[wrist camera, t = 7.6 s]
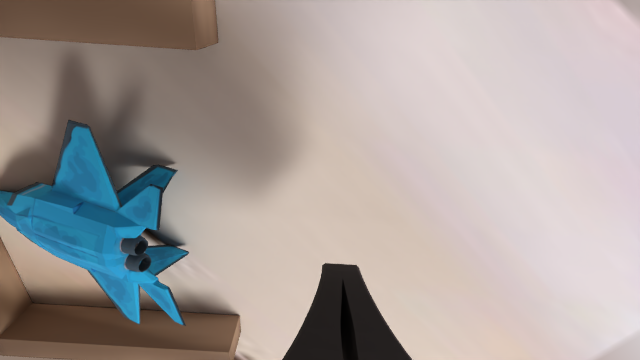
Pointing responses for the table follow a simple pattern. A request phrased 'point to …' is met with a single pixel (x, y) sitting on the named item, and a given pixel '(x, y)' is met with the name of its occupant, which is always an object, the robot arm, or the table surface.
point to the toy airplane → (99, 223)
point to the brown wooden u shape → (97, 322)
